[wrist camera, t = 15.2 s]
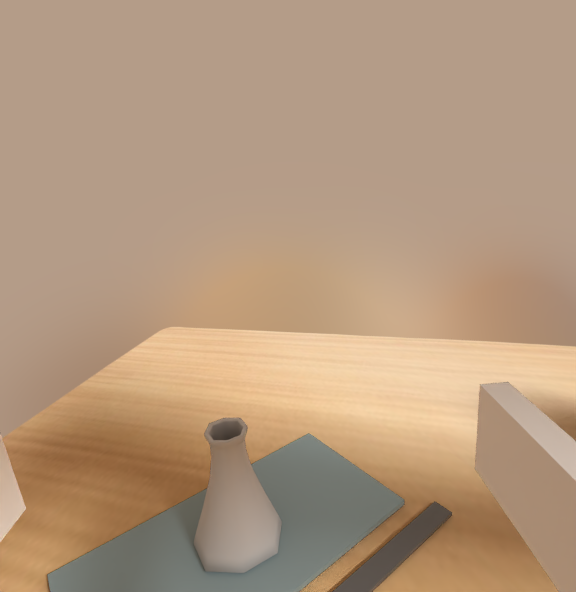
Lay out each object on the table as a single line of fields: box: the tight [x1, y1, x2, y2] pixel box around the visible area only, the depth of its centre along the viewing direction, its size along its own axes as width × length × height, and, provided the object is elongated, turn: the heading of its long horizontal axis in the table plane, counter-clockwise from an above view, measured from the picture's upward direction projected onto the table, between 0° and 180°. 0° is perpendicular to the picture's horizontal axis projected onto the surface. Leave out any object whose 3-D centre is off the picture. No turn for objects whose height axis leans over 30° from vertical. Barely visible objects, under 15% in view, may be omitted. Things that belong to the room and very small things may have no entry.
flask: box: [194, 418, 282, 573], centre depth 31 cm, size 7×7×10 cm
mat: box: [47, 433, 404, 592], centre depth 32 cm, size 26×13×1 cm, turn 127°
